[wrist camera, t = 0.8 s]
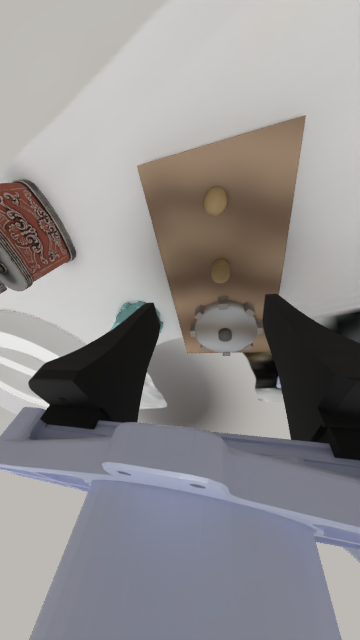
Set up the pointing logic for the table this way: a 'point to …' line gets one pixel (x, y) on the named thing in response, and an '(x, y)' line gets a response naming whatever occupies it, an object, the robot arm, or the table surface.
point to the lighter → (29, 236)
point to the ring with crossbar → (29, 351)
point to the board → (225, 232)
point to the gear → (128, 310)
